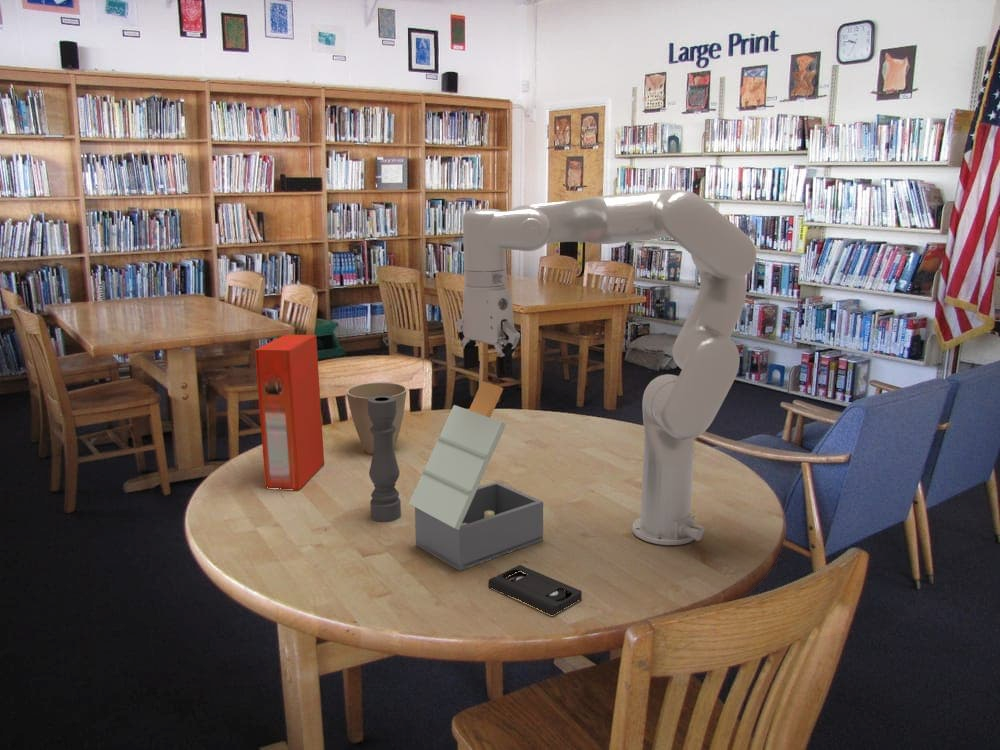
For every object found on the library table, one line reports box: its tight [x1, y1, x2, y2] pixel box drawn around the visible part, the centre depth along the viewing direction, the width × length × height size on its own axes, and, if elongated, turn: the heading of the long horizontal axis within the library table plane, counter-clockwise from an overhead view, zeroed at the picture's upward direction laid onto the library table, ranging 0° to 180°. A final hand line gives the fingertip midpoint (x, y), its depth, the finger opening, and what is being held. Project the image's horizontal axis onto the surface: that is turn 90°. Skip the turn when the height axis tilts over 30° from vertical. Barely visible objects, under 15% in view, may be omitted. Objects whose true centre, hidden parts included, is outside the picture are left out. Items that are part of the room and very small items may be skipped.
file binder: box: [254, 334, 325, 491], centre depth 194 cm, size 8×17×32 cm, turn 173°
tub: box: [414, 481, 544, 572], centre depth 162 cm, size 14×20×8 cm
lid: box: [408, 381, 507, 530], centre depth 156 cm, size 14×26×2 cm
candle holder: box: [368, 396, 402, 523], centre depth 172 cm, size 6×6×25 cm
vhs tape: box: [488, 564, 583, 615], centre depth 143 cm, size 14×8×2 cm, turn 47°
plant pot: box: [346, 382, 407, 455], centre depth 214 cm, size 15×15×16 cm
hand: (487, 372), depth 156 cm, fingers open, 9 cm apart
